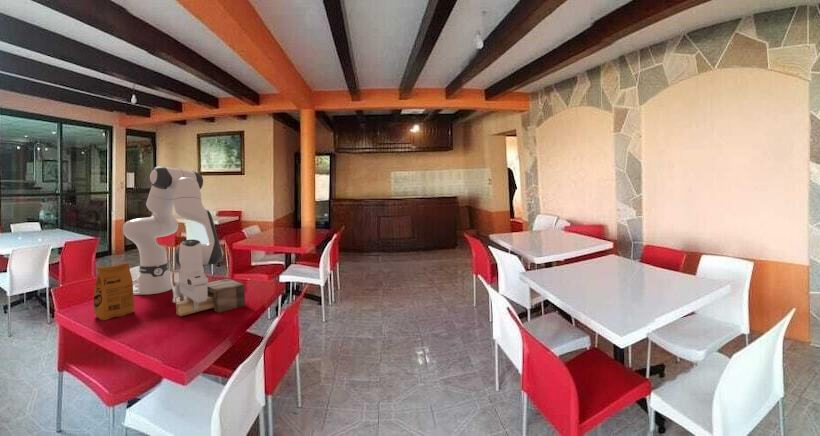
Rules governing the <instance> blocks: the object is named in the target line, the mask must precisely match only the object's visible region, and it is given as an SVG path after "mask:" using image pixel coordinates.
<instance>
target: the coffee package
mask: <svg viewBox="0 0 820 436" xmlns="http://www.w3.org/2000/svg"><path fill="white" fill-rule="evenodd" d="M94 284H95V285H94V288H93V289H94V291H93V313H94V314H95V317H96V318H98V319H99V320H100V321H106V320H110V319H113V318H115V317H118V318H120V317H123V316H126V315H129V314H131V313H134V312H135V299H134V298H135V297H134V296H135V295H134V294H133V286H134V284H133V277H132V273H131V269H130V265H129V262H124V263H120V264H117V265H112V266H111V265H110V266H97V276H96V280H95V283H94Z"/></svg>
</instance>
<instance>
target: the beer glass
mask: <svg viewBox="0 0 820 436" xmlns="http://www.w3.org/2000/svg"><path fill="white" fill-rule="evenodd" d="M170 283H171V287H172V289H171V290H172V304H176V303H178V302H182V301H186V300H187V299H186V296H184V295H182V294H181V293H180V269H173V270H171V271H170Z"/></svg>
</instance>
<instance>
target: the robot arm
mask: <svg viewBox="0 0 820 436" xmlns="http://www.w3.org/2000/svg"><path fill="white" fill-rule="evenodd" d="M149 182H150V185H152V186H151V188H150V190H149V193H148V197H147V200H146V203H145V206H146V207H147V209H148V211H149V212H151V213H152V214H151V216H147V217H139V218H133V219H130V220H127V221H126V222H124V224H123V225H122V234H123V235H124V236H125V238H126V239H127V240H130V241H131V242H133V243H134V245H136V248H137V250H138V252H139V253H138V254H139V262H140V265H139V268H138V269H139V271H138V272H139V273H138V275H137V276H136V278H135V279H132V282H133V294H134V296H136V295H153V294H155V295H156V294H161V293H165V292H168V291H171V290H172V287H171V283H170V272H171V271H169V263H168V260H167V258H168V257H167V256H168V255H167V249H166V247H165V246H164V245H161V244H159V243H158V242H157V238H162V237H168V236H170V235H173V234H175V233H176V232H177V231H178V229H179V224H178V223H179V222H178V220H177V219H176V217H174V215H173V209H174V211H175V213H176V215H177V216H179V217H181V218H182V219H185V220H187V221H191V222H195V223H197V224H200V225H202V226H203V227H204V229H205V233H206V236H207V239H208V242H207V243H202V242H201V241H200V240H197V239H185V240H182V241H181V242H179V243H180V244H179V247H178V248H177V249H176V250H175V251H174V253H175V261H176V262H175V263H176V264H177V265H178V266H180V293H181V294H182V295H184V296H186V299H187V300H191V299H192V300H193V302H194V305H193V309H195V310H196V309H199V303H201V302H205V301H206V300H207V294H208V289H207V284H206V283H209V278H208V277H207V275H206V274H205V272H204V271H205V269H204V266H203V265H217V264H218V263H220V262H221V261H222V260H223V256H224V251H223V248H222V246H221V244H220V240H219V236H218V234H217V229H216V226H215V222H214V220H213V216H212V214H211V212H210V210H207V209H206V208H205V207H204V205H203V202H202V193H201V189H202V188H203V186H204V177H203V176H202V174H201V173H199V172H196V171H194V170H193V171H191V170H187V169H185V168H175V167H166V166H155V167H154V168H152V169H151V170H150V174H149Z"/></svg>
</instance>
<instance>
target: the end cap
mask: <svg viewBox="0 0 820 436" xmlns="http://www.w3.org/2000/svg"><path fill="white" fill-rule="evenodd" d="M206 284H207V289H208V294H207V295H212V294H214V308H213V310H214V312H217V313H219V314H220V313H223V312H226V311H230V310H233V308H234V309H237V308H241V307H245V306H246V292H245V291H246V290H245V289H246V287H245V286H246V285H245V284H244V283H241V282H238V281H236V280H232V279H230V278H223V279H219V280H216V281H211V282H209V281H208V283H206ZM244 305H245V306H244Z"/></svg>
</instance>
